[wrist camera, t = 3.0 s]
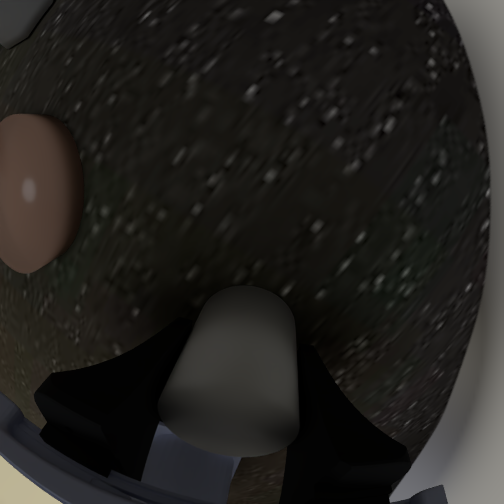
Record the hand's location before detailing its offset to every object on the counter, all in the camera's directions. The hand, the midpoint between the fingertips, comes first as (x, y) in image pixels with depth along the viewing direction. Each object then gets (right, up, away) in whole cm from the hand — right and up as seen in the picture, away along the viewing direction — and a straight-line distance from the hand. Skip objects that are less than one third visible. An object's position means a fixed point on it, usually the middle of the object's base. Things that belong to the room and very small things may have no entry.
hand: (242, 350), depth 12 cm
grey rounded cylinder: (0, +1, +2) cm, 2 cm away
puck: (-13, +8, +1) cm, 15 cm away
